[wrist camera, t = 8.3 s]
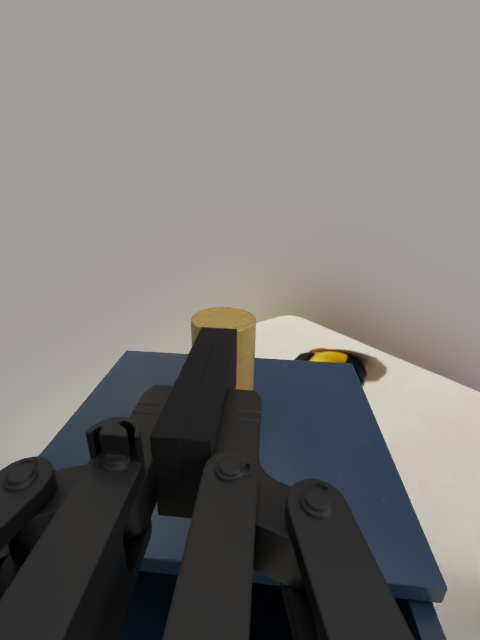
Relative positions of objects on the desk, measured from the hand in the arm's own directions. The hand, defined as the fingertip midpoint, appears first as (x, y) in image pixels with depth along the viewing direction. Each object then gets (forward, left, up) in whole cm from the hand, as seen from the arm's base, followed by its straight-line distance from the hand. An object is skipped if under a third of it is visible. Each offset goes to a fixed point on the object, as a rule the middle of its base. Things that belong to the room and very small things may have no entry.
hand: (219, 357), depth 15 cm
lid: (0, +2, -6) cm, 6 cm away
